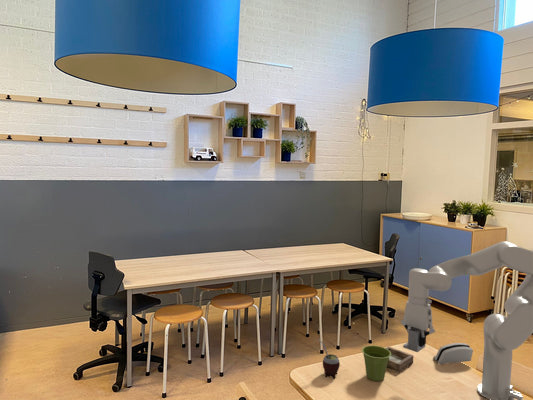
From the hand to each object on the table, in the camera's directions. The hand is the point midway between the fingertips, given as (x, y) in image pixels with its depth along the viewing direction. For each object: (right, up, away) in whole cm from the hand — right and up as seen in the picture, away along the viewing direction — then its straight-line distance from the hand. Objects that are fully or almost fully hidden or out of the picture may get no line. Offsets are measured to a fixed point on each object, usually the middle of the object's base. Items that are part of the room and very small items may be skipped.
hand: (416, 343), depth 162 cm
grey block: (0, -2, 0) cm, 2 cm away
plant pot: (-15, -17, +6) cm, 23 cm away
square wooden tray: (-3, -16, +19) cm, 25 cm away
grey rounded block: (+25, -16, +21) cm, 36 cm away
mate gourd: (-34, -16, +8) cm, 39 cm away
